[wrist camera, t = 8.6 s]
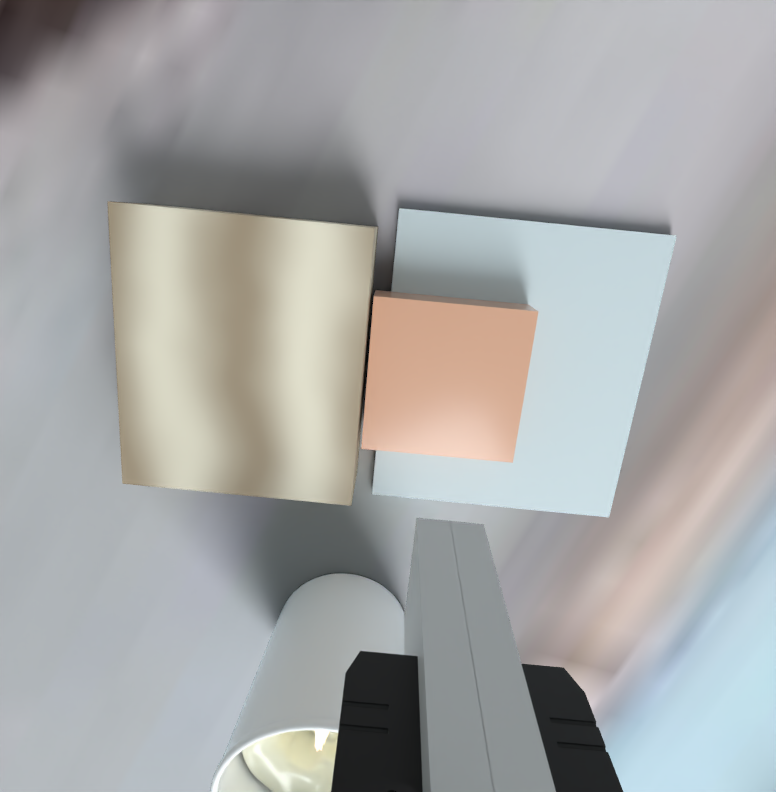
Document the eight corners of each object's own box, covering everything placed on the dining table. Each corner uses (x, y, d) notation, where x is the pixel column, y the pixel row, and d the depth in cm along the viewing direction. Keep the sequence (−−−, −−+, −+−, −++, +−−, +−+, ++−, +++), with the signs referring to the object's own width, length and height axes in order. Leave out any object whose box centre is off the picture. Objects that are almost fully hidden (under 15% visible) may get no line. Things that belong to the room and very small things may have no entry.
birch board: (154, 453, 33) (122, 483, 29) (146, 203, 29) (107, 201, 25) (357, 472, 33) (351, 505, 29) (378, 226, 29) (374, 227, 25)
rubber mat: (372, 489, 34) (371, 494, 33) (399, 208, 29) (399, 208, 28) (605, 512, 34) (608, 517, 33) (671, 235, 29) (676, 235, 28)
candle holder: (316, 534, 35) (273, 690, 23) (448, 607, 36) (470, 789, 25) (242, 643, 37) (171, 832, 26) (368, 708, 39) (354, 914, 27)
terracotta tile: (364, 432, 32) (361, 448, 30) (375, 290, 29) (373, 296, 27) (505, 445, 32) (512, 462, 30) (528, 304, 29) (538, 311, 27)
